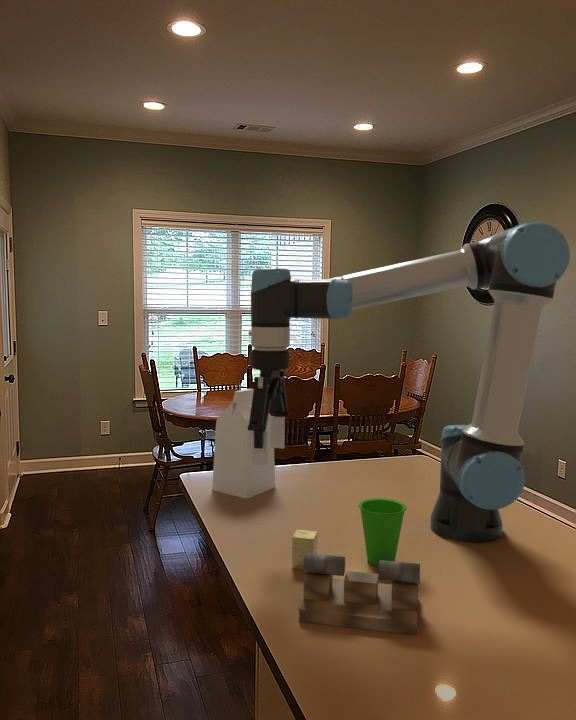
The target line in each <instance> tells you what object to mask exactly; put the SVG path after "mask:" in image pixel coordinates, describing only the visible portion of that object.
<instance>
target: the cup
mask: <svg viewBox="0 0 576 720" xmlns="http://www.w3.org/2000/svg"><path fill="white" fill-rule="evenodd" d="M358 508H359V510H360V513H361V523H362V529H363V535H364V544H365V545H364V546H365V552H366V558H367V561H368V562H369V564H371V565H373V566H376V567H379V560H384V561H394V562H396V557H397V551H398V545H399V540H400V536H401V531H402V526H403V520H404V515H405V512H406V511H407V505H406V504H405V503H403V502H401V501H399V500H396V499H392V498H385V497H384V498H383V497H382V498H381V497H374V498H373V497H371V498H367V499H363V500H361V501H360V502H359V503H358Z"/></svg>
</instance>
